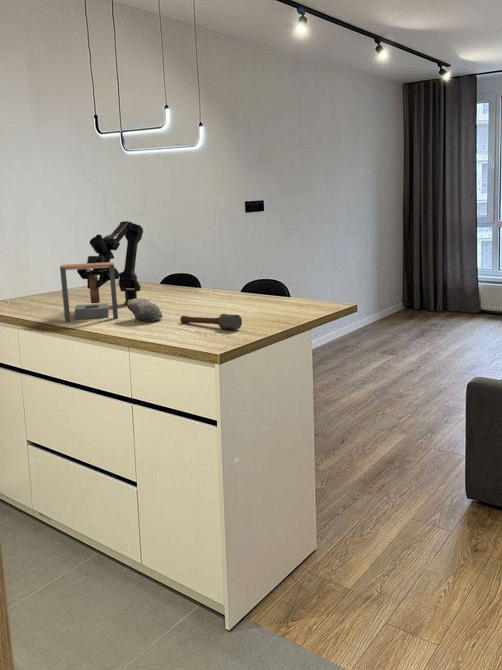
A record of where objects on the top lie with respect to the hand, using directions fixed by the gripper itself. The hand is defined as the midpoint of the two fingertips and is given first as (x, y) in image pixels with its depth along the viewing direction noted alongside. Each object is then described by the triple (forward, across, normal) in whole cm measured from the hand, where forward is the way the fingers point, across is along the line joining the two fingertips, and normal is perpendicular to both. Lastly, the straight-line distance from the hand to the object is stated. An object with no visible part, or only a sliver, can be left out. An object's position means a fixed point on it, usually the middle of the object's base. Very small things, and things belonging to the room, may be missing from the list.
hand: (92, 288), depth 276 cm
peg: (+4, 0, +6) cm, 7 cm away
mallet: (+19, +60, -1) cm, 63 cm away
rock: (+12, +27, +6) cm, 30 cm away
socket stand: (+9, -1, +8) cm, 13 cm away
